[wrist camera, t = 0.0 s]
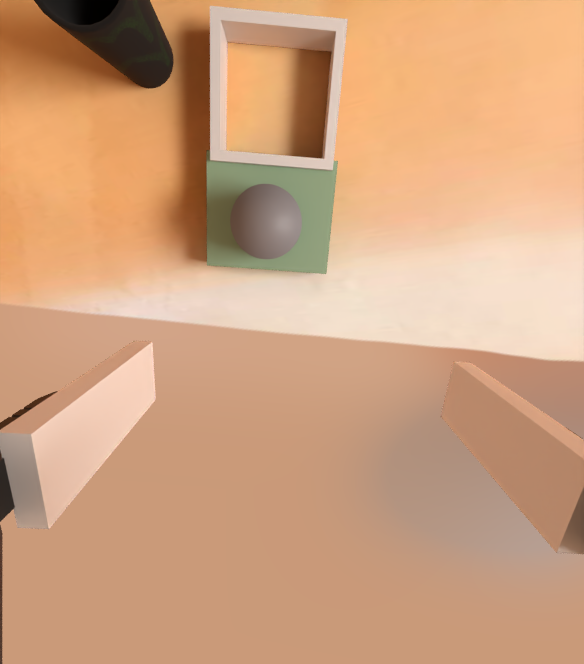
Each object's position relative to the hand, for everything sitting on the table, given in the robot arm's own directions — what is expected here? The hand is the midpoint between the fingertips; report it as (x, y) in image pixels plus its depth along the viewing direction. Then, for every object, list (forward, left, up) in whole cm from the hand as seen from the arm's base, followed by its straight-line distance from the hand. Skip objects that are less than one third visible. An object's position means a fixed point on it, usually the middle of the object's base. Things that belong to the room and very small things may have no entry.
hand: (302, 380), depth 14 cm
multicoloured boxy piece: (-14, -3, -28) cm, 32 cm away
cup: (-23, -17, -28) cm, 40 cm away
